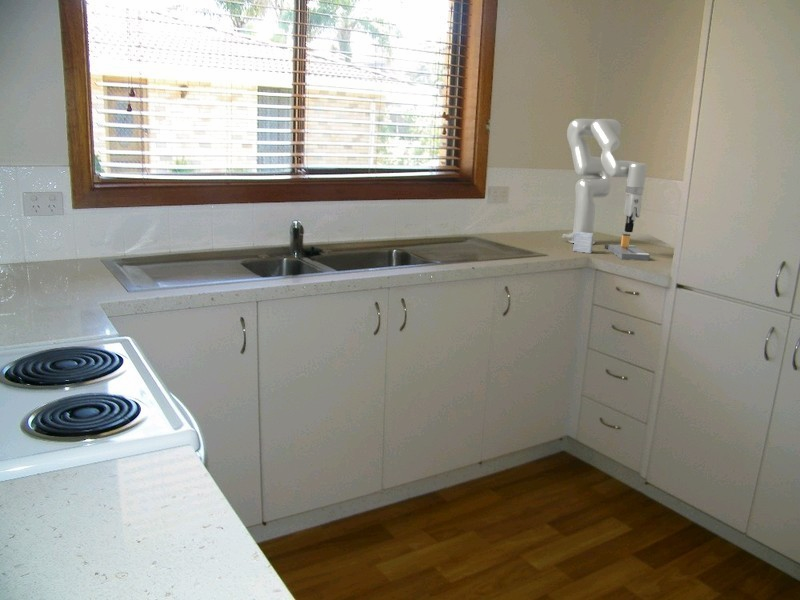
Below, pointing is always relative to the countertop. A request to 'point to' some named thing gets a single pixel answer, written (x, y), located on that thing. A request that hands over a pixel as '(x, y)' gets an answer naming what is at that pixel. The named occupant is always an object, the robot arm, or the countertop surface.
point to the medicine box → (583, 242)
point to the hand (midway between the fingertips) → (628, 231)
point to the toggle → (625, 240)
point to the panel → (629, 252)
